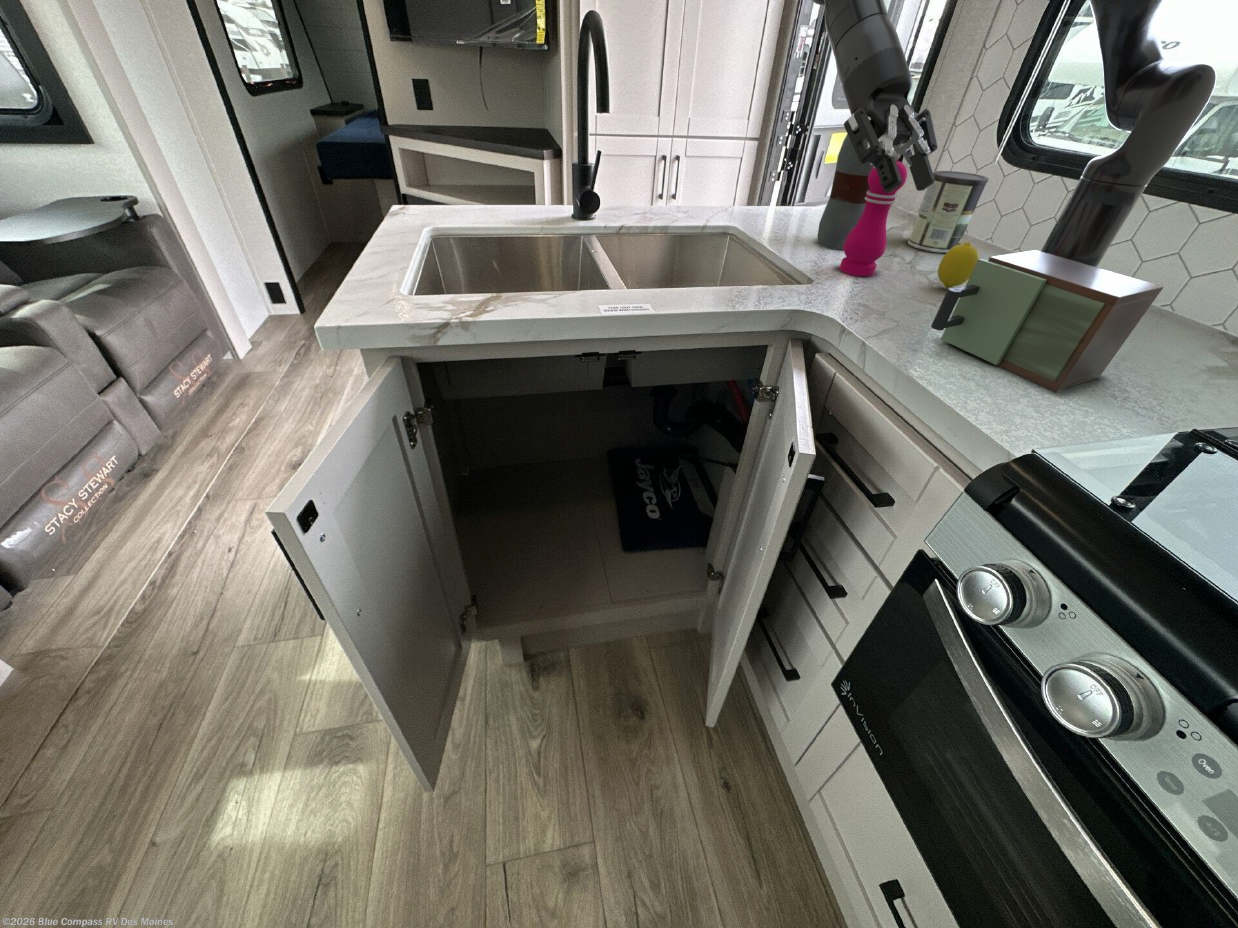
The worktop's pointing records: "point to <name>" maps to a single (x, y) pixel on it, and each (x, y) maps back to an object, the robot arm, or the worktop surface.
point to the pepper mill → (870, 227)
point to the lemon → (957, 265)
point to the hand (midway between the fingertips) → (910, 187)
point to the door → (987, 309)
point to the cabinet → (1073, 319)
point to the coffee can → (947, 210)
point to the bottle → (845, 197)
